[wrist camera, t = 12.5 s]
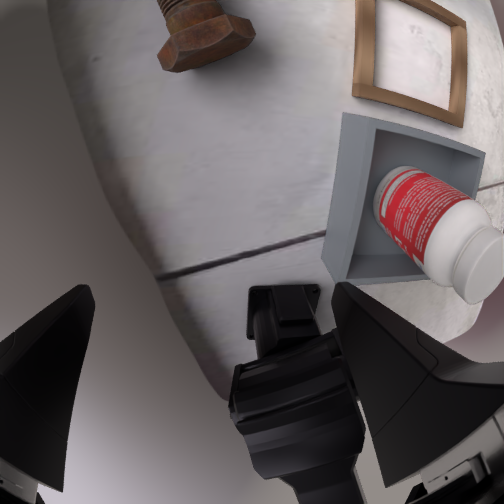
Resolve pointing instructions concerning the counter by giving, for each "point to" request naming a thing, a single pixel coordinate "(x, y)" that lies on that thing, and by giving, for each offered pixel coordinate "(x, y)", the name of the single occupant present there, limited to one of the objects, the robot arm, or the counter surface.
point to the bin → (364, 187)
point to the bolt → (200, 34)
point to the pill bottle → (441, 231)
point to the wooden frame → (368, 91)
